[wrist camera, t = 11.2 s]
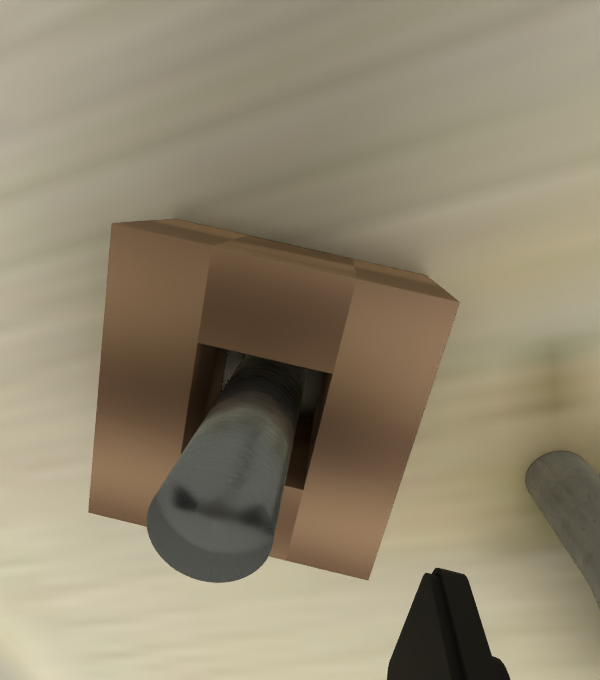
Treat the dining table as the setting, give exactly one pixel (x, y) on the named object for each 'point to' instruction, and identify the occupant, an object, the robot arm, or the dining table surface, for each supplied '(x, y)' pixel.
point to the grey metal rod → (231, 476)
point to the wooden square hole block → (275, 344)
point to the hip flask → (570, 507)
